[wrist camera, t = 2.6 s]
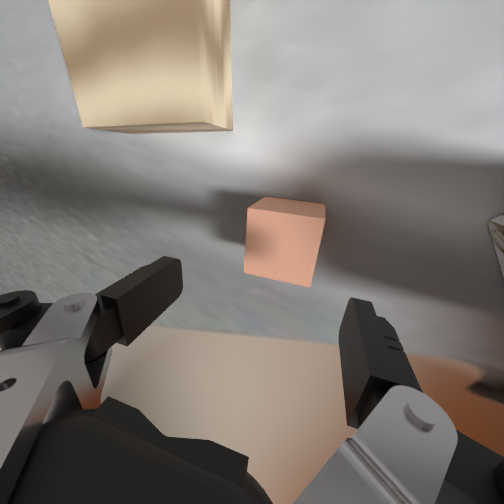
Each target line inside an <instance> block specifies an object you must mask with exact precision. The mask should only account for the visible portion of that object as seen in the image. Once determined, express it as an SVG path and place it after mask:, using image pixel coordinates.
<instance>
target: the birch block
mask: <svg viewBox="0 0 504 504" xmlns="http://www.w3.org/2000/svg"><path fill="white" fill-rule="evenodd" d="M48 2H49V5H50V9H51V13H52V16H53V20H54V23H55V27H56V31H57V34H58V38H59V42H60V45H61V49H62V52H63V56H64V60H65V63H66V67H67V70H68V74H69V78H70V81H71V85H72V88H73V92H74V96H75V99H76V103H77V107H78V110H79V114H80V117H81V121H82V125H83V127H85V128H92V129H100V130H107V131H115V132H123V133H130V134H148V133H180V132H211V131H233V109H232V72H231V35H230V0H48Z"/></svg>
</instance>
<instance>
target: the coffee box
mask: <svg viewBox="0 0 504 504" xmlns="http://www.w3.org/2000/svg"><path fill="white" fill-rule="evenodd" d="M488 227H489V231H490V234H491V238H492V241H493V245H494V248H495V251H496V254H497V258H498V261H499V264H500V267H501V271H502V274H503V277H504V215H501V216H498V217H495V218H493V219H490V220H489V221H488Z"/></svg>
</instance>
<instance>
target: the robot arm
mask: <svg viewBox="0 0 504 504" xmlns="http://www.w3.org/2000/svg"><path fill="white" fill-rule="evenodd" d="M182 289H183V279H182V266H181V261H180V260H179V259H176V258H171V257H167V256H163V257H161V258H160V259H158V260H156V261H155V262H153V263H151V264H149V265H146V266H143V267H141V268H139V269H137V270H136V271H134V272H133V273H132V274H129V275H127V276H126V277H125V278H122V279H121V280H119V281H117V282H116V283H114V284H112V285H110V286H109V287H107V288H105V289H104V290H102V291H100V292H99V293H97V294H93V293H77V294H72V295H69V296H66V297H64V298H62V299H60V300H58V301H56V302H55V303H39V300H38V298H37V296H36V294H35V292H33V291H27V290H24V291H15V292H11V293H7V294H3V295H0V348H1V350H0V504H273V503H272V501H271V500H270V498H269V497H268V495H267V494H266V492H265V491H264V489H263V488H262V487H261V486H260V485H259V483H258V482H257V481H256V480H255V479H254V478H253V477H252V476H251V475H250V474H249V473H248V472H247V467H248V459H249V457H247V456H245V455H243V454H240V453H238V452H236V451H233V450H231V449H229V448H226V447H224V446H222V445H220V444H217V443H215V442H213V441H210V440H201V439H189V438H176V437H175V438H174V437H167V436H165V435H163V434H162V433H161V432H160V431H159V430H158V429H157V428H156V427H155V426H154V425H153V424H152V423H151V422H150V421H149V420H148V419H147V418H146V417H145V416H144V415H143V414H142V413H141V412H140V411H139V410H138V409H136V408H134V407H131V406H129V405H127V404H124V403H122V402H120V401H118V400H115V399H113V398H111V397H107V398H106V400H105V401H104V402H103V403H102V404H101V395H102V391H103V387H104V383H105V379H106V375H107V371H108V367H109V363H110V359H111V356H112V347H111V346H112V345H114V344H115V343H119V344H122V345H125V346H128V345H129V344H131V343H132V342H133V341H134V340H135V339H136V338H137V336H139V335H140V334H141V333H142V332H143V331H144V330H145V329H146V328H147V327H148V326H149V325H150V324H151V323H152V322H153V321H154V320H156V319H157V318H158V317H159V316H160V315H161V314H162V313H163V312H164V311H165V310H166V309H167V308H168V307H169V306H170V305H171V304H172V303H173V302H174V301H175V300H176V299H177V298H178V297H179V296H180V295H181V292H182ZM339 348H340V357H341V368H342V379H343V388H344V398H345V408H346V418H347V425H348V426H351V427H354V428H357V429H358V430H357V431H356V432H355V434H354V435H353V436H352V437H351V438H350V439H349V438H347V439H346V440H345V441H344V442H343V443H342V444H341V445H340V446H339V448H338V449H337V450H336V452H335V453H334V454H333V455H332V456H331V458H330V459H329V460H328V461H327V463H326V464H325V465H324V466H323V468H322V469H321V470H320V471H319V472H318V474H317V475H316V476H315V477H314V479H313V480H312V481H311V482H310V483H309V485H308V486H307V487H306V488H305V490H304V491H303V492H302V493H301V495H300V496H299V497H298V498H297V500H296V501H295V502H294V503H293V504H504V457H502V456H501V455H499V454H497V453H495V452H494V451H492V450H490V449H488V448H487V447H485V446H483V445H481V444H480V443H478V442H476V441H474V440H473V439H471V438H469V437H467V436H466V435H464V434H462V433H461V432H459V431H458V430H456V429H455V427H454V424H453V423H452V421H451V419H450V418H449V416H448V415H447V414H446V413H445V411H444V410H443V409H442V408H441V407H440V406H439V405H438V404H437V403H436V402H435V401H433V400H432V399H431V398H430V397H428V396H427V395H425V394H424V393H423V392H422V390H421V388H420V386H419V384H418V381H417V379H416V377H415V374H414V372H413V370H412V367H411V365H410V363H409V361H408V358H407V356H406V354H405V352H404V349H403V347H402V345H401V342H399V338H398V336H397V333H396V331H395V329H394V328H393V327H392V325H391V324H390V323H389V322H388V321H387V320H386V319H385V318H383V317H379V316H377V315H376V313H375V310H374V307H373V304H372V303H371V302H370V301H365V300H360V299H356V298H350V299H349V301H348V304H347V307H346V311H345V314H344V317H343V320H342V323H341V326H340V330H339Z"/></svg>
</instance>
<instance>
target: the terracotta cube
mask: <svg viewBox="0 0 504 504" xmlns="http://www.w3.org/2000/svg"><path fill="white" fill-rule="evenodd" d="M325 220H326V215H325V204H322V203H314V202H306V201H298V200H290V199H282V198H274V197H266V196H265V197H264V198H262V199H261V200H259V201H258V202H256V203H254V204H253V205H251V206H250V207H248V210H247V227H246V243H245V260H244V273H247V274H252V275H256V276H261V277H265V278H270V279H274V280H279V281H283V282H288V283H292V284H297V285H301V286H306V287H311V282H312V278H313V273H314V269H315V264H316V260H317V255H318V251H319V246H320V242H321V237H322V233H323V229H324V224H325Z"/></svg>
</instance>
